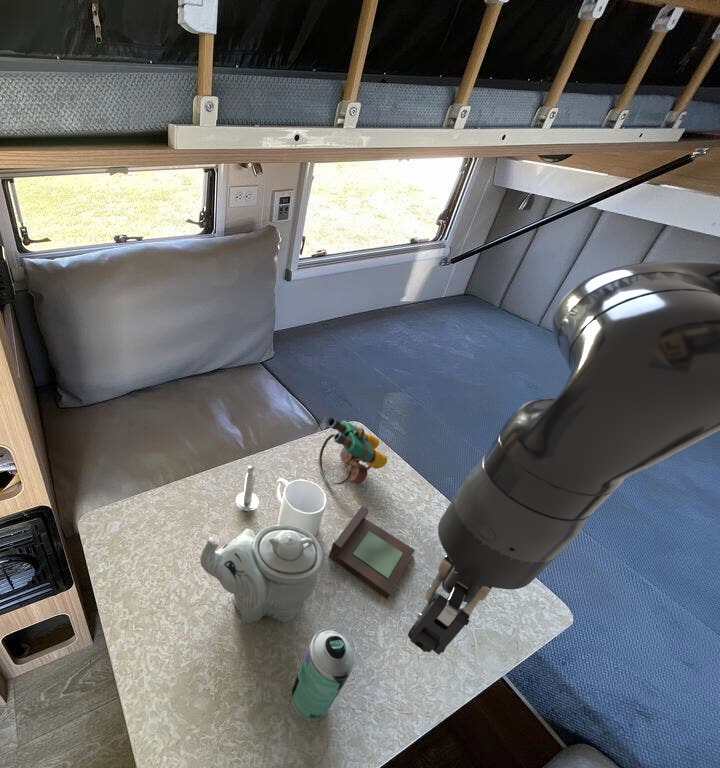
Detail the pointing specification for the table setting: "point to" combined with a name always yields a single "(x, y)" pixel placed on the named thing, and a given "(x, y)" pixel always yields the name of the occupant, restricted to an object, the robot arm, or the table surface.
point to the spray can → (322, 674)
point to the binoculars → (354, 450)
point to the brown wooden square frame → (371, 553)
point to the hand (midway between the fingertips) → (434, 610)
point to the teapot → (266, 570)
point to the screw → (248, 493)
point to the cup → (301, 504)
